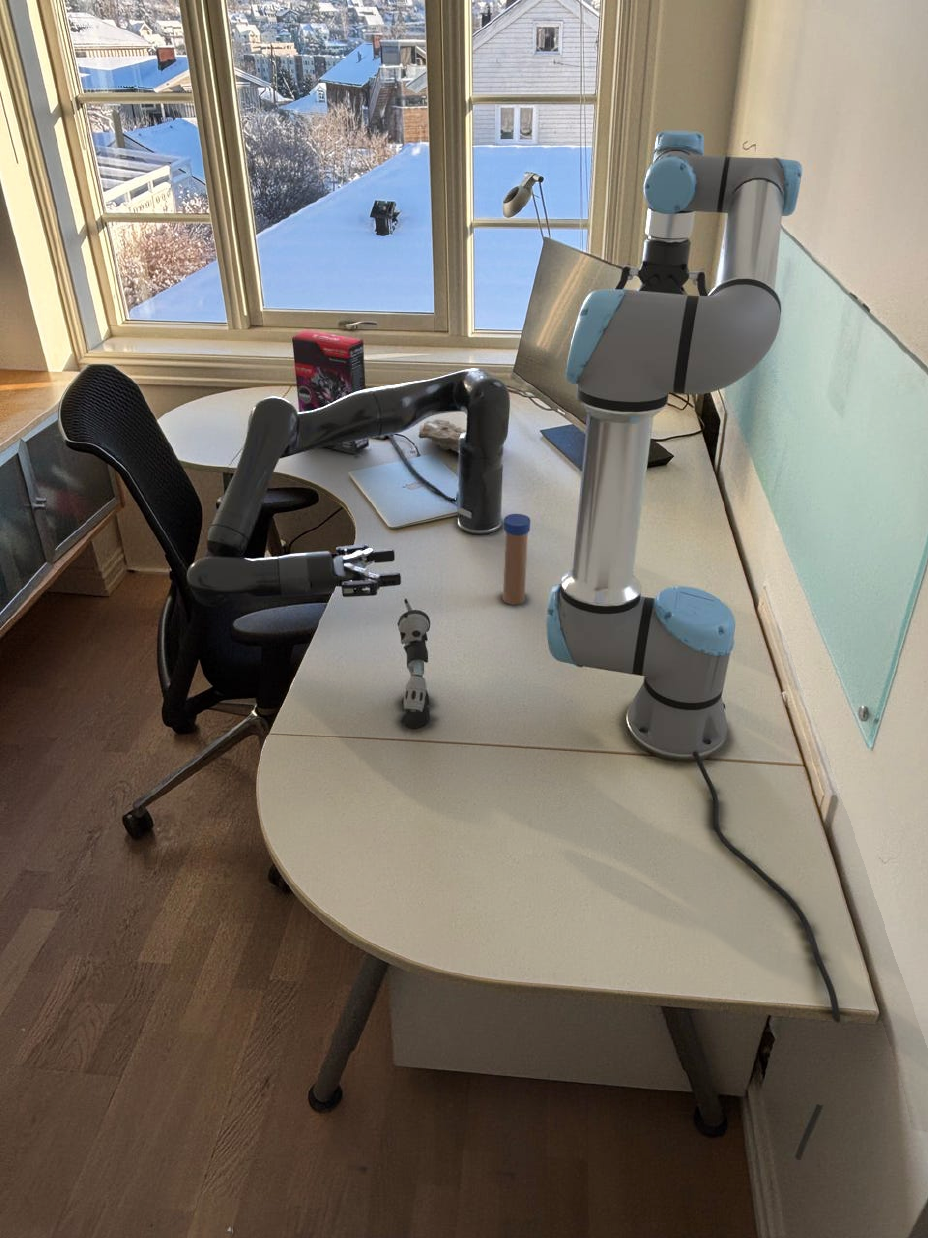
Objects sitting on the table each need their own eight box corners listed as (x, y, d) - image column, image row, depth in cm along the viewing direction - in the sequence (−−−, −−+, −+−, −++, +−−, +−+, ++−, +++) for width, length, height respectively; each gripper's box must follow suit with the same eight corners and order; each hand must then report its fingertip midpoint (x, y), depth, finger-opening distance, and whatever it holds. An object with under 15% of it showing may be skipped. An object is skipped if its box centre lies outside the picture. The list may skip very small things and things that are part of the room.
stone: (402, 443, 226) (407, 419, 224) (421, 434, 240) (426, 412, 237) (483, 468, 223) (489, 444, 220) (497, 458, 236) (503, 435, 234)
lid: (511, 520, 169) (511, 511, 168) (534, 526, 167) (534, 517, 166) (499, 531, 165) (499, 521, 164) (522, 537, 163) (522, 528, 162)
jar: (509, 591, 177) (512, 514, 167) (528, 597, 175) (532, 520, 166) (499, 601, 174) (501, 523, 165) (518, 607, 172) (521, 529, 163)
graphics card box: (299, 442, 234) (289, 335, 219) (315, 433, 239) (306, 328, 224) (356, 456, 228) (349, 346, 213) (371, 446, 233) (365, 338, 218)
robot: (432, 752, 138) (431, 644, 127) (400, 753, 138) (395, 645, 127) (430, 673, 154) (428, 571, 143) (401, 674, 154) (397, 571, 143)
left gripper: (305, 572, 170) (393, 565, 173) (309, 613, 159) (403, 605, 161) (302, 536, 166) (392, 529, 169) (306, 576, 154) (402, 568, 157)
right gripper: (746, 237, 151) (725, 364, 163) (595, 227, 157) (585, 351, 169) (746, 247, 145) (723, 378, 157) (589, 236, 151) (579, 364, 163)
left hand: (397, 566), depth 165 cm, fingers open, 8 cm apart
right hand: (652, 364), depth 163 cm, fingers open, 13 cm apart
